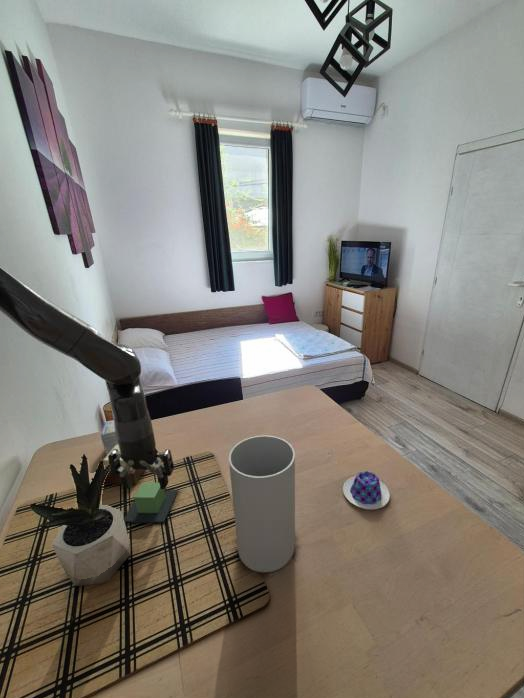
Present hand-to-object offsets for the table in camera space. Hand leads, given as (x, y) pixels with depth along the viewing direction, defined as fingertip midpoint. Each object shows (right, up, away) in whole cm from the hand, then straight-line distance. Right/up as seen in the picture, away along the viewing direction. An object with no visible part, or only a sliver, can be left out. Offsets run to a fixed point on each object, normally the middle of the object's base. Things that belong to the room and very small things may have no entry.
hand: (146, 486), depth 80 cm
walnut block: (-11, -1, +14) cm, 18 cm away
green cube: (0, -5, +2) cm, 6 cm away
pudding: (+55, -4, +6) cm, 56 cm away
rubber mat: (0, -6, +2) cm, 6 cm away
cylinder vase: (+30, -10, -8) cm, 33 cm away
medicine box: (-20, +3, +24) cm, 32 cm away
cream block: (-11, +2, +12) cm, 17 cm away
